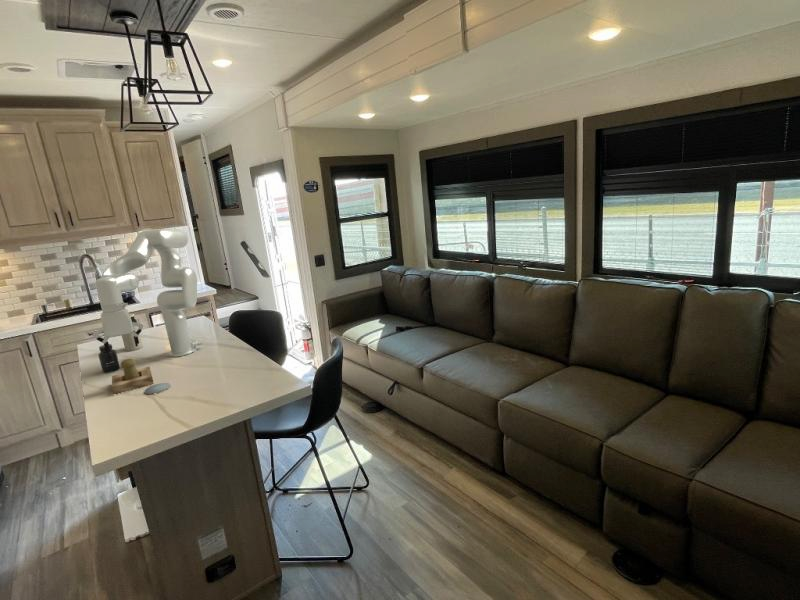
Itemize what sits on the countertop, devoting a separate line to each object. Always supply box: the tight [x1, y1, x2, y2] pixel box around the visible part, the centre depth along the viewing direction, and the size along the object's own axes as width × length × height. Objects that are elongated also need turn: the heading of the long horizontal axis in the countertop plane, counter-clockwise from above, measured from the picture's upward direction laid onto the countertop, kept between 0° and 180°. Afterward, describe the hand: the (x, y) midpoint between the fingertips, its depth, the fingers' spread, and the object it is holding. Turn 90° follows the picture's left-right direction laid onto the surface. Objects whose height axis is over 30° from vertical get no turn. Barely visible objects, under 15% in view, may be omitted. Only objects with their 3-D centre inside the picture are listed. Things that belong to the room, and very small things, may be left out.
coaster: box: [144, 382, 171, 395], centre depth 171 cm, size 9×9×1 cm
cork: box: [120, 357, 140, 381], centre depth 177 cm, size 6×6×11 cm
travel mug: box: [121, 313, 144, 352], centre depth 222 cm, size 8×8×18 cm
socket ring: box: [111, 365, 155, 395], centre depth 178 cm, size 14×14×4 cm
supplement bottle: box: [98, 343, 121, 374], centre depth 195 cm, size 7×7×12 cm
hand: (123, 348), depth 174 cm, fingers open, 9 cm apart
